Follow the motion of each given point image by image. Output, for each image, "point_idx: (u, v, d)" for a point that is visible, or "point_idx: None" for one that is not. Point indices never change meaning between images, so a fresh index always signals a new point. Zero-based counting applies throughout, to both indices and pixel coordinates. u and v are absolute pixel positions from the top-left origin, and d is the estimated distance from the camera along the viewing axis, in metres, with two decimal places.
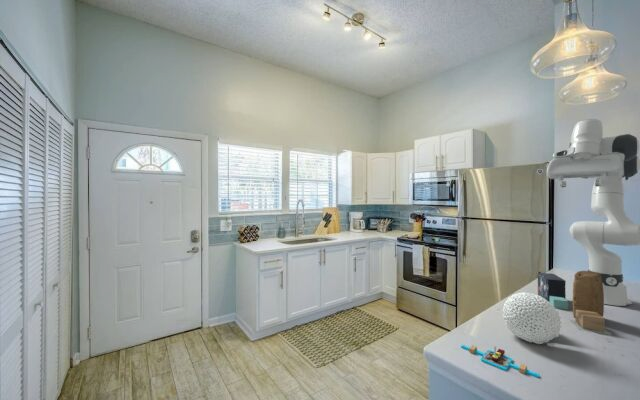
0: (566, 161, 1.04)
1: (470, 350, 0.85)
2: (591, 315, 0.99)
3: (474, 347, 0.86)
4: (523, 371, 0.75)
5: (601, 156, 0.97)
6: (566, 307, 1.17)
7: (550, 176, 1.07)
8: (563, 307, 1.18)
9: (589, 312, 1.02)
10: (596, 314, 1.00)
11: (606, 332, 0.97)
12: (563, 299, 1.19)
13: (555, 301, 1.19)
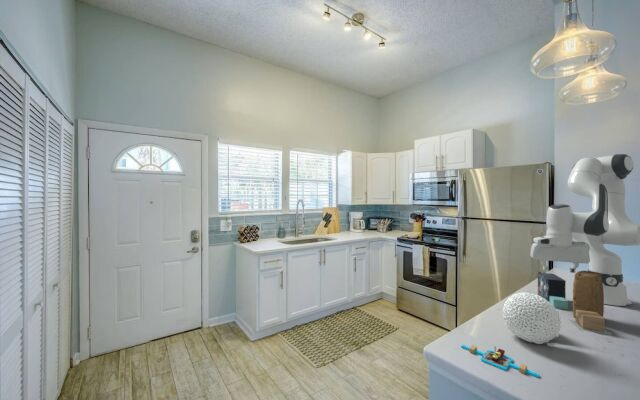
0: (548, 248, 1.20)
1: (470, 350, 0.85)
2: (591, 315, 0.99)
3: (474, 347, 0.86)
4: (523, 371, 0.75)
5: (575, 247, 1.16)
6: (566, 307, 1.17)
7: None
8: (563, 306, 1.18)
9: (589, 312, 1.02)
10: (596, 314, 1.00)
11: (606, 332, 0.97)
12: (563, 299, 1.19)
13: (555, 301, 1.19)
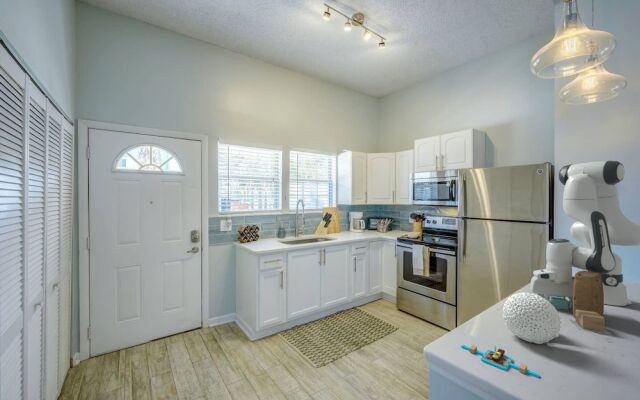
0: (548, 282, 1.20)
1: (470, 350, 0.85)
2: (591, 315, 0.99)
3: (474, 347, 0.86)
4: (523, 371, 0.75)
5: None
6: (566, 307, 1.17)
7: None
8: (563, 306, 1.18)
9: (589, 312, 1.02)
10: (596, 314, 1.00)
11: (606, 332, 0.97)
12: (563, 299, 1.19)
13: (555, 301, 1.19)
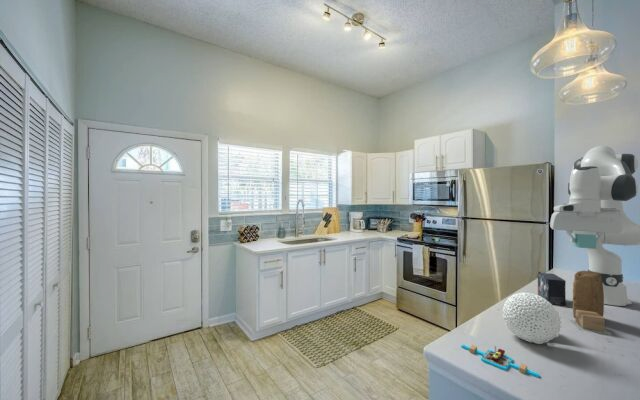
0: (572, 216, 1.04)
1: (470, 350, 0.85)
2: (591, 315, 0.99)
3: (474, 347, 0.86)
4: (523, 371, 0.75)
5: (604, 214, 1.00)
6: (594, 242, 1.00)
7: (555, 229, 1.07)
8: (590, 242, 1.01)
9: (589, 312, 1.02)
10: (596, 314, 1.00)
11: (606, 332, 0.97)
12: None
13: (580, 236, 1.02)
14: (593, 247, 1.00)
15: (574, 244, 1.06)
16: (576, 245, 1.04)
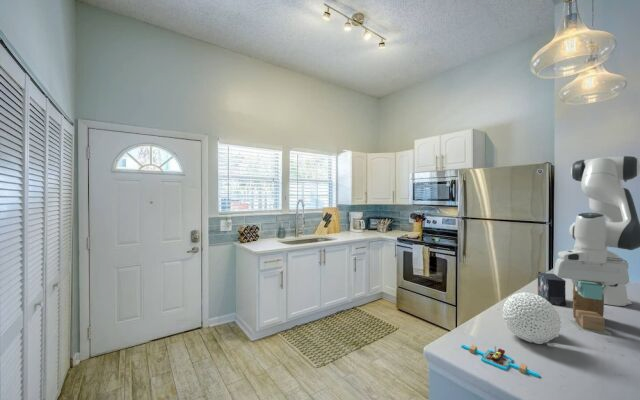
0: (577, 264, 1.01)
1: (470, 350, 0.85)
2: (591, 315, 0.99)
3: (474, 347, 0.86)
4: (523, 371, 0.75)
5: (610, 265, 0.97)
6: (600, 293, 0.98)
7: None
8: (596, 293, 0.98)
9: (589, 312, 1.02)
10: (596, 314, 1.00)
11: (606, 332, 0.97)
12: (596, 284, 1.00)
13: (586, 286, 0.99)
14: (599, 298, 0.98)
15: (579, 292, 1.03)
16: (581, 294, 1.01)
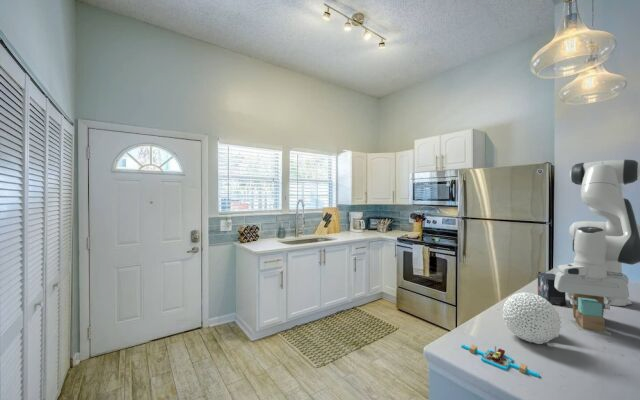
0: (577, 279, 1.01)
1: (470, 350, 0.85)
2: None
3: (474, 347, 0.86)
4: (523, 371, 0.75)
5: (610, 279, 0.97)
6: (600, 311, 0.98)
7: None
8: (596, 310, 0.98)
9: None
10: None
11: (606, 332, 0.97)
12: (595, 301, 1.00)
13: (586, 303, 0.99)
14: (599, 316, 0.98)
15: (579, 309, 1.03)
16: (581, 311, 1.01)
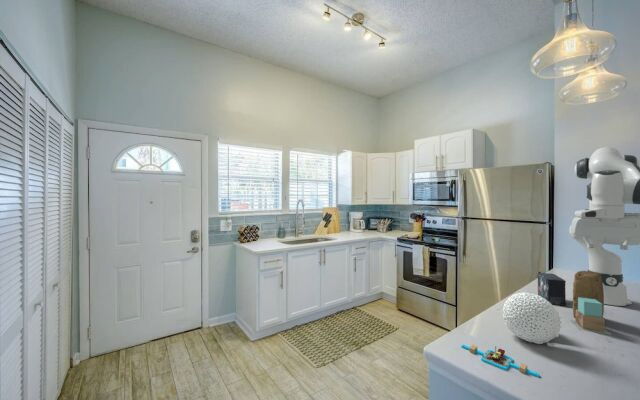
0: (594, 221, 1.02)
1: (470, 350, 0.85)
2: None
3: (474, 347, 0.86)
4: (523, 371, 0.75)
5: (628, 220, 0.98)
6: (600, 311, 0.98)
7: (576, 235, 1.06)
8: (596, 310, 0.98)
9: None
10: None
11: (606, 332, 0.97)
12: (595, 301, 1.00)
13: (586, 303, 0.99)
14: (599, 316, 0.98)
15: (579, 309, 1.03)
16: (581, 311, 1.01)
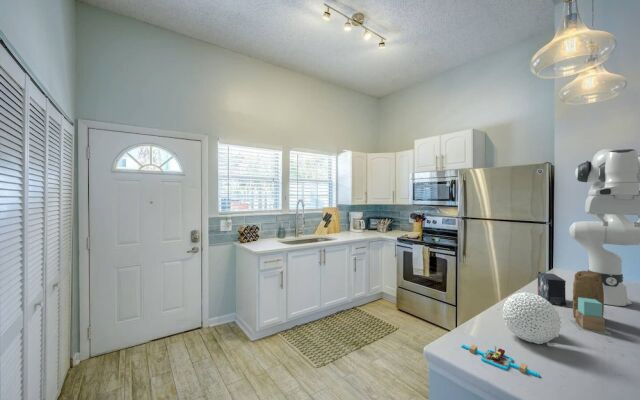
0: (608, 199, 1.03)
1: (470, 350, 0.85)
2: None
3: (474, 347, 0.86)
4: (523, 370, 0.75)
5: None
6: (600, 311, 0.98)
7: (591, 213, 1.06)
8: (596, 310, 0.98)
9: None
10: None
11: (606, 332, 0.97)
12: (595, 301, 1.00)
13: (586, 303, 0.99)
14: (599, 316, 0.98)
15: (579, 309, 1.03)
16: (581, 311, 1.01)
